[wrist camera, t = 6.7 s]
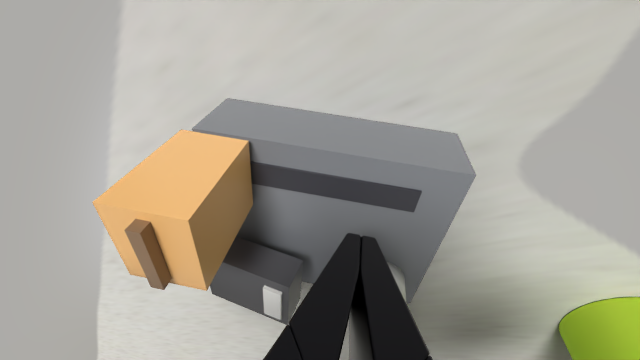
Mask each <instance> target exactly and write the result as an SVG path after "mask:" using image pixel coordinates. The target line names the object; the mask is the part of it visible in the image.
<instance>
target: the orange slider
mask: <svg viewBox="0 0 640 360" xmlns="http://www.w3.org/2000/svg"><path fill="white" fill-rule="evenodd" d="M93 205H94V206H95V208H96V210H97V212H98V214H99V216H100V218H101V220H102V222H103V224H104V226H105V227H106V229H107V231H108V233H109V235H110V237H111V239H112V241H113V243H114V245H115V246H116V248H117V250H118V252H119V254H120V256H121V258H122V260H123V262H124V264H125V266H126V267H127V269H128V271H129V273H130V275H135V276H140V277H145V278H147V279H148V282H149V284H150V286H151V287H153V288H157V289H162V290H164V289H165V288H166V286H167V285H168V283H173V284H178V285H182V286H187V287H192V288H197V289H201V290H206V291H207V290H208V288H209V286H210V284H211V282H212V280H213V278H214V276H215V275H216V273H217V271H218V269H219V267H220V265H221V263H222V262H223V260H224V258H225V256H226V254H227V252H228V250H229V249H230V247H231V245H232V243H233V241H234V239H235V237H236V235H237V234H238V232H239V230H240V228H241V226H242V224H243V222H244V221H245V219H246V217H247V215H248V213H249V211H250V209H251V207H252V206H253V194H252V180H251V166H250V152H249V141H247V140H241V139H235V138H229V137H223V136H217V135H211V134H205V133H199V132H193V131H187V130H180V131H179V132H178V133H176V134H175V135H174V136H173V137H172V138H170V139H169V140H168V141H167V142H165V143H164V144H163V145H162V146H161V147H159V148H158V149H157V150H156V151H154V152H153V153H152V154H151V155H150V156H148V157H147V158H146V159H145V160H143V161H142V162H141V163H140V164H139V165H137V166H136V167H135V168H134V169H132V170H131V171H130V172H129V173H128V174H126V175H125V176H124V177H123V178H121V179H120V180H119V181H118V182H117V183H115V184H114V185H113V186H112V187H110V188H109V189H108V190H107V191H106V192H104V193H103V194H102V195H101V196H100V197H98V198H97V199H96V200H95V201H93Z"/></svg>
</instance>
